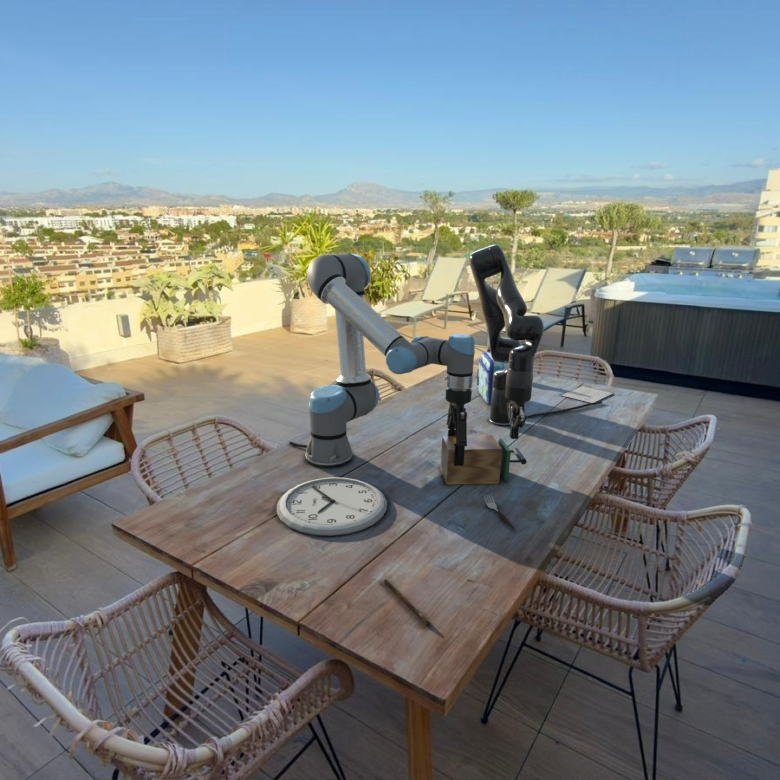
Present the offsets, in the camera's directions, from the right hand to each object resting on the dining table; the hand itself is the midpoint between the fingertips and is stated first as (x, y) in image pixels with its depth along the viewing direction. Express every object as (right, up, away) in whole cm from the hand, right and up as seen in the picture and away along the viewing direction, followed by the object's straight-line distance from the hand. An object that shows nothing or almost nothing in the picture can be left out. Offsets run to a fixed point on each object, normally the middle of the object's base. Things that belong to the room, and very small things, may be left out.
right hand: (513, 438), depth 158 cm
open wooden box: (-13, -12, +3) cm, 18 cm away
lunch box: (+8, +10, +75) cm, 76 cm away
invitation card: (+54, +12, +84) cm, 100 cm away
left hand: (-18, -6, 0) cm, 19 cm away
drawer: (-7, -11, +3) cm, 13 cm away
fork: (-8, -19, -19) cm, 28 cm away
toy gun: (+12, +22, +113) cm, 116 cm away
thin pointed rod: (-35, -29, -52) cm, 69 cm away
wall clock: (-53, -17, -16) cm, 58 cm away
